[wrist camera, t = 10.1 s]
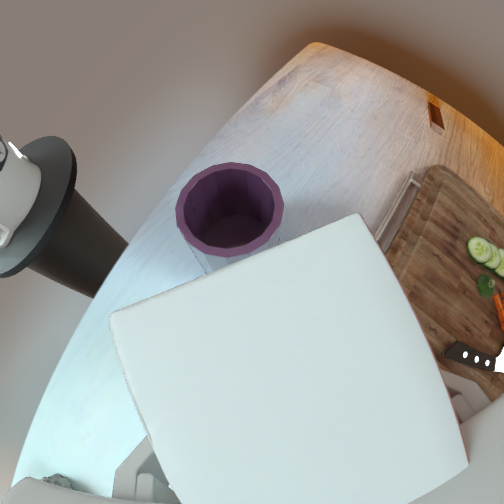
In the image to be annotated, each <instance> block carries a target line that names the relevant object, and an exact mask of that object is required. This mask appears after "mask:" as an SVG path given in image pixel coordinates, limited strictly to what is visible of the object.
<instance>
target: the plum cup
mask: <svg viewBox="0 0 504 504" xmlns="http://www.w3.org/2000/svg"><path fill="white" fill-rule="evenodd" d="M283 209H284V202H283V199H282V196H281V192H280V189H279V187H278V185H277V184H276V183H275V182H274V181H273V180H272V179H271V177H270V176H269V175H268V174H267V173H266V172H264V171H262V170H260V169H258V168H256V167H254V166H252V165H249V164H241V163H233V162H231V163H230V162H229V163H223V164H218V165H213V166H211V167H209V168H207V169H205V170H203V171H201V172H200V173H198V174H196V175H195V176H193V177H192V179H191V180H190V181H189V182H188V183H187V184H186V185H185V187H184V188H183V189H182V190H181V193H180V195H179V198H178V201H177V204H176V208H175V210H176V221H177V227H178V229H179V230H180V232H181V234H182V235H183V237H184V239H185V240H186V242H187V244H188V245H189V247H190V248H191V250H192V252H193V253H194V255H195V257H196V258H197V260H198V261H199V263H200V265H201V266H202V268H203V269H204V271H205V272H206V273H207V274H209V273H211V272H213V271H216V270H218V269H221V268H223V267H226V266H228V265H230V264H233V263H235V262H238V261H240V260H243V259H245V258H247V257H250V256H252V255H255V254H257V253H260V252H262V251H265V250H267V249H269V248H272V247H274V246H277V245H278V244H279V237H280V230H281V223H282V216H283Z"/></svg>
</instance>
